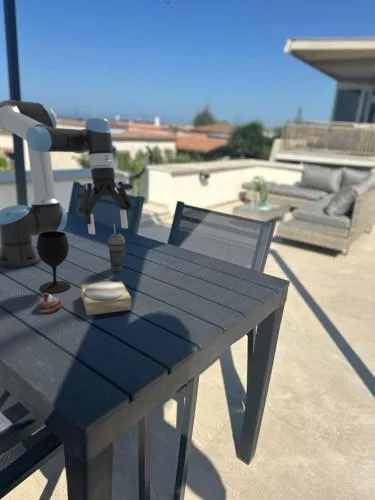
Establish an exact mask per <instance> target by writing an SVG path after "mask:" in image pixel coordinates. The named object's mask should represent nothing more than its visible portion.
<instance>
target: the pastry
mask: <svg viewBox="0 0 375 500" xmlns="http://www.w3.org/2000/svg"><path fill="white" fill-rule="evenodd" d="M61 307H62V300H61V299H60V298H59V297H54V296H53V295H51V294H50V293H44V294H43V295H41V297H40V298H39V300H38V304H37V305H36V311H37V310H38V311H37V312H38V313H40V312H41V313H40V314H51V313H52V312H53V313H55V312H57V311H59V310H60V309H61ZM58 309H59V310H58Z"/></svg>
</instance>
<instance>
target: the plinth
mask: <svg viewBox="0 0 375 500" xmlns="http://www.w3.org/2000/svg"><path fill="white" fill-rule="evenodd" d="M80 288H81V299H82V302H83V306H84V309H86V310H85V313H86V315H87V316H93V315H92V314H94V315H102V314H108V313H115V312H116V313H117V312H123V311H131V310H132V296H131V295H130V293H129V291H128V290H127V288H126V286H125V284H124V283H123V281H99V282H94V283H92V284H83V285H82V284H81V287H80Z"/></svg>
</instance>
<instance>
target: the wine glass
mask: <svg viewBox="0 0 375 500" xmlns="http://www.w3.org/2000/svg"><path fill="white" fill-rule="evenodd" d="M69 249H70V246H69V240H68V237H67V235H66V233H65V232H62V231H60V232H59V231H49V232H43V233H40V234H39V235H37V241H36V253H37V256H38V258H40V260H41V261H42V262H43V263H44V264H46V265H47V266H49V267H51V270H52V276H53V277H52V279H53V280H52V281H48V282H45V283H43V284H41V285H40V286H39V290H40V291H41V292H42V293H44V294H45V293H48V294H50V295H51V294H61V293H64V292H66V291H68V290H70V289H71V284H70V283H69V282H68V281H63V280H57V267H58V266H60V265H61V264H62V263H63V262H64V261H65V260H66V259H67V257H68V255H69V251H70V250H69Z"/></svg>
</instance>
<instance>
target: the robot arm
mask: <svg viewBox="0 0 375 500" xmlns="http://www.w3.org/2000/svg"><path fill="white" fill-rule="evenodd" d="M57 124H58V123H57V118H56V115H55V112H54V110H53V109H52V108H51V106H49V105H48V104H45V103H40V102H35V101H34V102H32V101H21V100H16V99H15V100H13V99H6V100H2V101H0V130H2V131H4V132H6V133H12V134H14V135H16V136H17V137H20V138H21V139H23V140H25V141H26V144H27V153H28V160H29V161H28V162H29V168H30V174H31V175H30V176H31V177H30V178H31V183H32V192H33V201H32V202H31V203H30V206H31V208H30V206H28V205H26V204H20V205H18V204H17V205H11V206H6V207H4V208H2V209H0V244H1V245H0V267H3V268H10V269H11V268H12V269H13V268H14V269H15V268H25V267H29V266H33V265H35V264H36V263H37V262H38V261H39V259H38V258H39V256H38V252H37V250H36V249H35V246H34V245H33V239H32V238H33V237H34V236H35V237H36V236H39V234H40V233H43V232H49V231H59V232H62V231H63V230H64V229H65V227H66V225H67V222H68V213H67V211H66V208H65V207H64V206H62V205H61V202H60V201H59V200H58V199H57V198H56V190H55V181H54V174H53V164H52V155H51V153H53V152H54V153H74V154H86V153H88V154H89V164H90V165H89V167H91V170H90V172H91V180H92V183H91V182H86V183H84V189H83V194H82V198H81V200H80V204H79V207H78V209H77V210H78V213H80V214H82V215H84V221H85V224H86V225H87V229H88V234H90V235H96V229H95V220H94V213H92V211H93V210H94V208H95V206H96V205H97V203H98V201H99V199H100V198H101V197H105V196H106V197H107V196H108V197H109V196H110V197H111V198H112V199H113V200H114V201H115V202H116V204H117V205H118V206H119V208H121V209H120V210H119V212H120V213H119V215H120V224H121V229H129V226H128V225H129V223H128V219H129V210H130V209H131V208H133V203H132V202H131V200H130V198H129V196H128V194H127V192H126V190H125V188H124V184H123V181H120V180H119V181H115V178H116V173H115V168H114V166H115V165H114V156H113V155H114V154H113V146H112V144H113V143H112V134H111V133H112V132H111V128H110V121H109V120H108V119H106V118H105V117H92V118H91V117H90V118H87V119H86V121H85V128H82V129H76V128H75V129H74V128H60V127H59V128H58V127H57ZM93 190H94V191H93ZM92 192H93V193H92ZM91 195H92V196H91Z"/></svg>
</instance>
